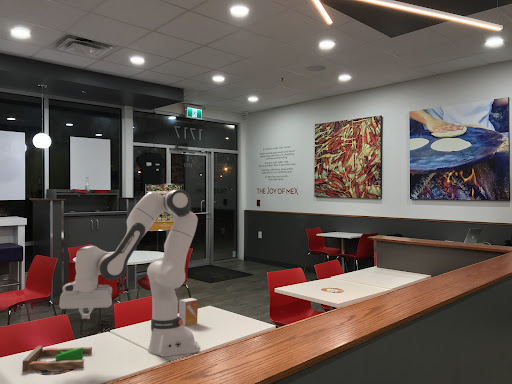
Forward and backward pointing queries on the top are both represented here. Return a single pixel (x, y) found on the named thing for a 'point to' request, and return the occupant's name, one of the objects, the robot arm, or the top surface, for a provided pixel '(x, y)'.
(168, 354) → the robot arm
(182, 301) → the small box
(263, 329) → the top surface
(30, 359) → the guide channel
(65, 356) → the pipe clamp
